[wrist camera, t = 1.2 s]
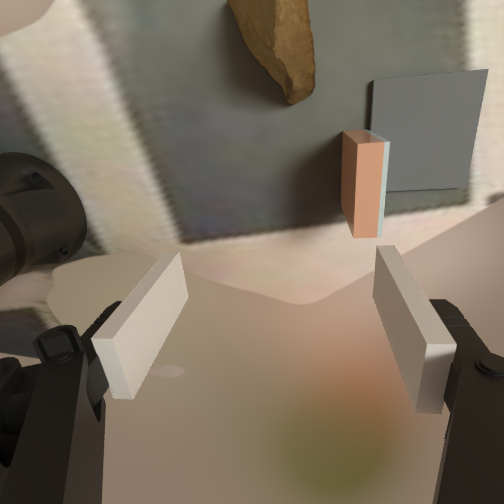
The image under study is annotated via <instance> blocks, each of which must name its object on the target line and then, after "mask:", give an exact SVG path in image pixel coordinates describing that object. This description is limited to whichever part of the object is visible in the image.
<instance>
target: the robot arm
mask: <svg viewBox="0 0 504 504" xmlns="http://www.w3.org/2000/svg"><path fill="white" fill-rule="evenodd" d="M86 227H87V224H86V216H85V211H84V208H83V205H82V203H81V200H80V198H79V196H78V195H77V193H76V191H75V190H74V188H73V187H72V185H71V184H70V183H69V182H68V180H67V179H66V178H65V177H64V176H63V175H62V174H61V173H60V172H59V171H57V170H56V169H55V168H54V167H52V166H51V165H49V164H48V163H46V162H45V161H43V160H41V159H39V158H37V157H34V156H31V155H28V154H24V153H18V152H9V153H3V154H0V286H1V285H3V284H4V283H6V282H7V281H9V280H10V279H12V278H13V277H15V276H17V275H21V274H25V273H29V272H33V271H38V270H42V269H46V268H50V267H54V266H56V265H58V264H60V263H62V262H64V261H65V260H67V259H68V258H70V257H71V256H72V255H74V254H75V253H76V252H77V251H78V250H79V249H80V247H81V246H82V244H83V242H84V239H85V236H86ZM373 298H374V301H375V304H376V306H377V309H378V312H379V315H380V318H381V320H382V323H383V326H384V329H385V331H386V334H387V337H388V339H389V342H390V345H391V348H392V351H393V353H394V356H395V359H396V361H397V364H398V367H399V370H400V372H401V375H402V378H403V381H404V383H405V386H406V389H407V392H408V394H409V397H410V400H411V402H412V405H413V408H414V411H415V413H431V414H441V413H442V409H443V404H444V401H445V403H446V405H447V407H448V409H449V411H450V418H449V422H448V426H447V430H446V434H445V442H444V447H443V452H442V458H441V463H440V468H439V473H438V478H437V483H436V488H435V493H434V499H433V504H504V358H503V357H501V356H499V355H496V354H493V353H491V352H490V351H489V350H488V348H487V347H486V346H485V344H484V343H483V341H482V340H481V339H480V338H479V336H478V335H477V333H476V332H475V331H474V329H473V328H472V327H470V324H469V323H468V321H467V320H466V319H464V316H463V315H462V313H461V312H460V311H459V309H458V308H457V307H456V306H454V305H453V304H451V303H450V302H448V301H447V300H445V299H434V300H433V299H428V298H427V296H426V295H425V293H424V292H423V290H422V289H421V287H420V285H419V284H418V282H417V281H416V279H415V277H414V276H413V274H412V273H411V271H410V269H409V268H408V266H407V265H406V263H405V262H404V260H403V259H402V257H401V255H400V254H399V252H398V250H397V249H396V247H395V246H394V245H390V246H377V249H376V262H375V275H374V288H373ZM187 299H188V292H187V287H186V282H185V277H184V272H183V267H182V262H181V257H180V252H179V251H168V252H164V253H163V254H162V256H161V257H160V258H159V259H158V260H157V262H156V263H155V264H154V265H153V266H152V267H151V269H150V270H149V271H148V272H147V273H146V274H145V276H144V277H143V278H142V279H141V280H140V282H139V283H138V284H137V285H136V286H135V287H134V289H133V290H132V291H131V292H130V293H129V294H128V296H127V297H126V298H125V299H124V300H123V301H117V302H115V303H113V304H112V305H110V306H109V307H107V308H106V309H105V310H104V311H103V313H102V314H101V315H100V317H99V318H97V319H96V320H95V321H94V324H92V325H91V326H90V327H89V328H88V329H87V330H86V332H85V333H84V334H83V335H82V336H81V337H80V336H79V334H78V331H77V329H76V327H74V326H73V325H62V326H57V327H54V328H52V329H49V330H47V331H45V332H44V333H42V334H41V335H39V336H38V337H37V338H36V339H35V341H34V342H33V343H32V344H33V346H34V348H35V350H36V352H37V354H38V356H39V358H40V361H41V363H40V364H35V365H31V366H26V367H22V366H21V364H20V362H19V360H18V359H16V358H14V357H6V358H2V359H0V504H102V503H101V502H102V480H103V479H102V478H103V458H104V435H105V411H106V404H105V400H104V398H103V395H104V394H105V392H106V391H107V389H108V387H109V388H110V390H111V393H112V396H113V398H114V399H134V397H135V395H136V393H137V391H138V389H139V388H140V385H141V384H142V382H143V380H144V378H145V377H146V375H147V373H148V371H149V369H150V367H151V366H152V364H153V362H154V360H155V358H156V356H157V354H158V353H159V351H160V349H161V347H162V345H163V343H164V342H165V340H166V338H167V336H168V334H169V332H170V331H171V329H172V327H173V325H174V323H175V321H176V320H177V318H178V316H179V314H180V312H181V310H182V309H183V307H184V305H185V303H186V301H187Z"/></svg>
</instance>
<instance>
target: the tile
mask: <svg viewBox="0 0 504 504" xmlns="http://www.w3.org/2000/svg"><path fill="white" fill-rule="evenodd" d="M389 148H390V141H388V140H386V139H384V138H382V137H380V136H378V135H376V134H375V133H373V132H371V131H369V130H367V129H364V130H351V131H343V140H342V175H341V206H342V209H343V212H344V215H345V217H346V220H347V223H348V225H349V228H350V231H351V233H352V236H353V238H374V237H382V229H383V217H384V206H385V194H386V183H387V171H388V160H389Z"/></svg>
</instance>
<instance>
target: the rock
mask: <svg viewBox="0 0 504 504" xmlns="http://www.w3.org/2000/svg"><path fill="white" fill-rule="evenodd" d="M228 4H229V6H230V7H231V8H232V10H233V12H234V15H235V18H236V20H237V23H238V25H239V29H240V32H241V34H242V37H243V42H244V43H245V44H246V45H247V47H248V48H249V49H250V51H251V53H252V54H253V56H254V57H255V59H257V60H258V61H259V63H260V64H261V65H262V66H264V67H265V68H266V69H267V71H268V72H269V74H270V76H271V77H272V78H273V79H274V80H275V81H277V82H278V83H279V84H280V85H281V86H282V88H283V92H284V94H285V97H286V99H287V101H288V102H289V103H290V104H291V105H294V104H295V103H297V102H299V101H301V100H303V99H305V98H307V97H308V96H310V95H311V94H312V92H313V89H314V88H315V61H314V47H313V46H314V43H313V34H312V31H311V28H310V18H309V12H308V1H307V0H228Z"/></svg>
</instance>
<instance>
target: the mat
mask: <svg viewBox="0 0 504 504" xmlns="http://www.w3.org/2000/svg"><path fill="white" fill-rule="evenodd" d="M487 74H488V69H482V70H472V71H462V72H452V73H442V74H432V75H422V76H412V77H402V78H392V79H382V80H373V81H372V97H371V114H370V130H369V131H371V132H373V133H375V134H376V135H378V136H380V137H382V138H384V139H386V140H388V141H390V148H389V160H388V171H387V183H386V191H405V190H426V189H446V188H466V184H467V179H468V174H469V169H470V163H471V158H472V153H473V148H474V142H475V137H476V132H477V127H478V122H479V116H480V111H481V106H482V101H483V95H484V90H485V85H486V80H487Z"/></svg>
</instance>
